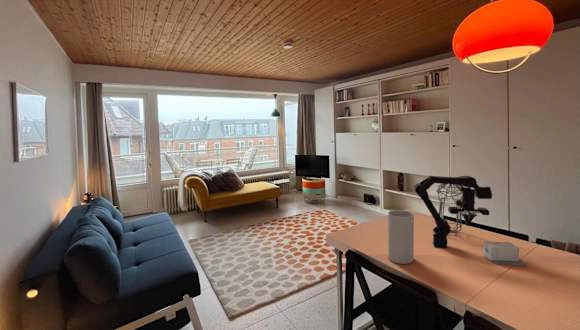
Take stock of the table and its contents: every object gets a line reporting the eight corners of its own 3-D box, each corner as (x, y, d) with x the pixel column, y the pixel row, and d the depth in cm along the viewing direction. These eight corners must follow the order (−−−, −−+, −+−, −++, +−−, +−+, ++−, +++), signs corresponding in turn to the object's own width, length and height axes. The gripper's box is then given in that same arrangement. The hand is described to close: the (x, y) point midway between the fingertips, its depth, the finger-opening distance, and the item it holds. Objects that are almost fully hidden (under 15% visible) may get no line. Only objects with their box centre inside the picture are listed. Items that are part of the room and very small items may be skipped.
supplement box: (490, 260, 138) (519, 261, 135) (490, 246, 137) (519, 247, 134) (483, 254, 145) (510, 255, 142) (483, 241, 144) (510, 241, 142)
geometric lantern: (463, 231, 179) (465, 179, 174) (463, 240, 166) (465, 184, 161) (436, 227, 188) (437, 177, 183) (434, 235, 175) (435, 182, 169)
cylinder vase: (402, 267, 137) (402, 218, 134) (383, 257, 148) (382, 212, 145) (418, 260, 143) (419, 214, 140) (399, 251, 154) (399, 208, 151)
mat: (495, 264, 135) (495, 262, 135) (486, 254, 146) (486, 253, 146) (526, 266, 132) (526, 265, 131) (515, 256, 142) (515, 255, 142)
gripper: (482, 195, 157) (481, 221, 158) (446, 194, 162) (445, 220, 164) (490, 200, 146) (489, 228, 148) (451, 199, 151) (450, 226, 153)
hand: (467, 225), depth 153 cm, fingers closed
